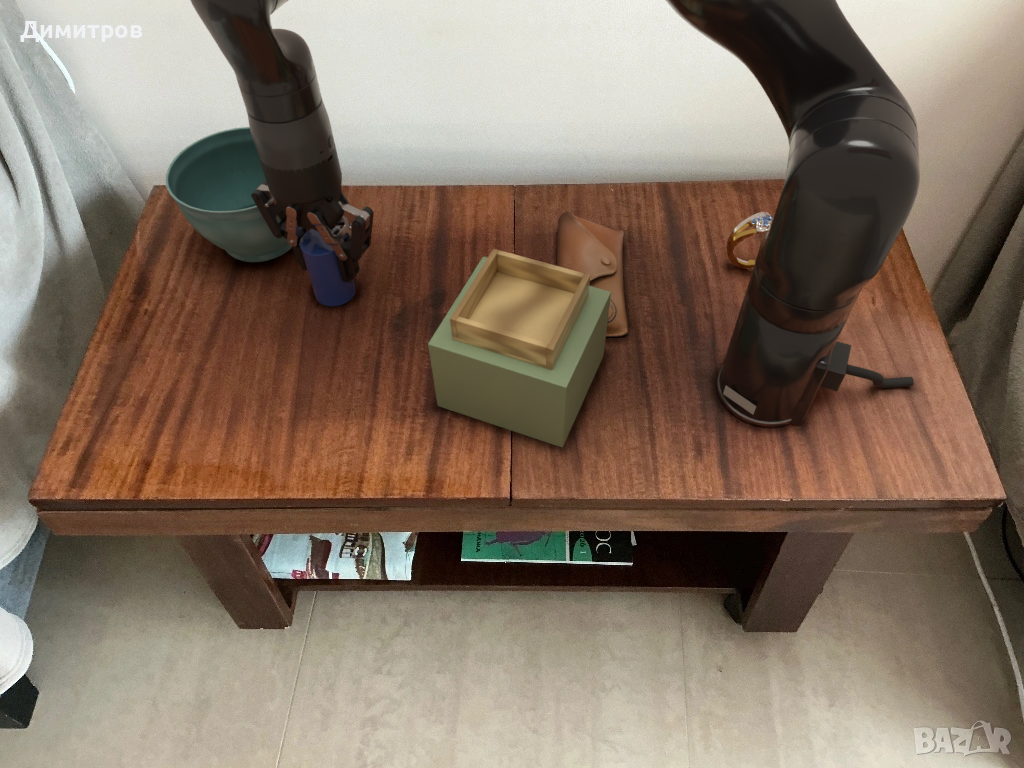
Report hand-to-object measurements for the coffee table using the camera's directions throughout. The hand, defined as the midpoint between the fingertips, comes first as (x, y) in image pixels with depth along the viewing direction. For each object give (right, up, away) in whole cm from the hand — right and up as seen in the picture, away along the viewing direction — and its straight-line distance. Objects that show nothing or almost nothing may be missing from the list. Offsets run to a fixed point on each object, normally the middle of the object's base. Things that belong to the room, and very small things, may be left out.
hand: (330, 271), depth 89 cm
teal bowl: (-11, +5, +9) cm, 15 cm away
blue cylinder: (0, -2, +3) cm, 3 cm away
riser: (+22, -13, -6) cm, 26 cm away
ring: (+50, +1, +4) cm, 50 cm away
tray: (+22, -6, -14) cm, 27 cm away
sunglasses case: (+30, -1, +3) cm, 31 cm away
